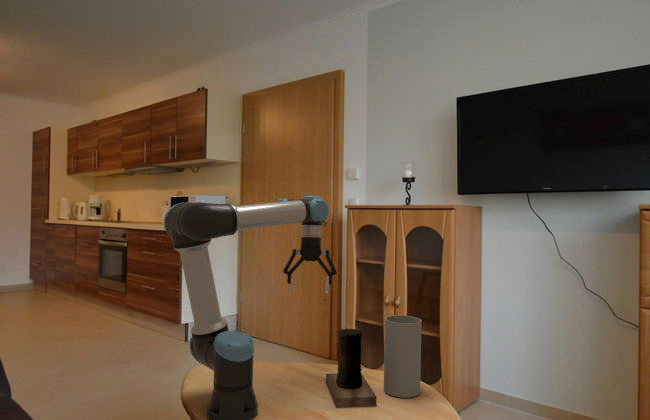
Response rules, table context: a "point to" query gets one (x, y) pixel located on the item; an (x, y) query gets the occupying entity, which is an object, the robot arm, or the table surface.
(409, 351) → the cylinder vase
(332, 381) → the shelf board
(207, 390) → the table surface
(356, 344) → the container
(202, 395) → the table surface
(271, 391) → the table surface
